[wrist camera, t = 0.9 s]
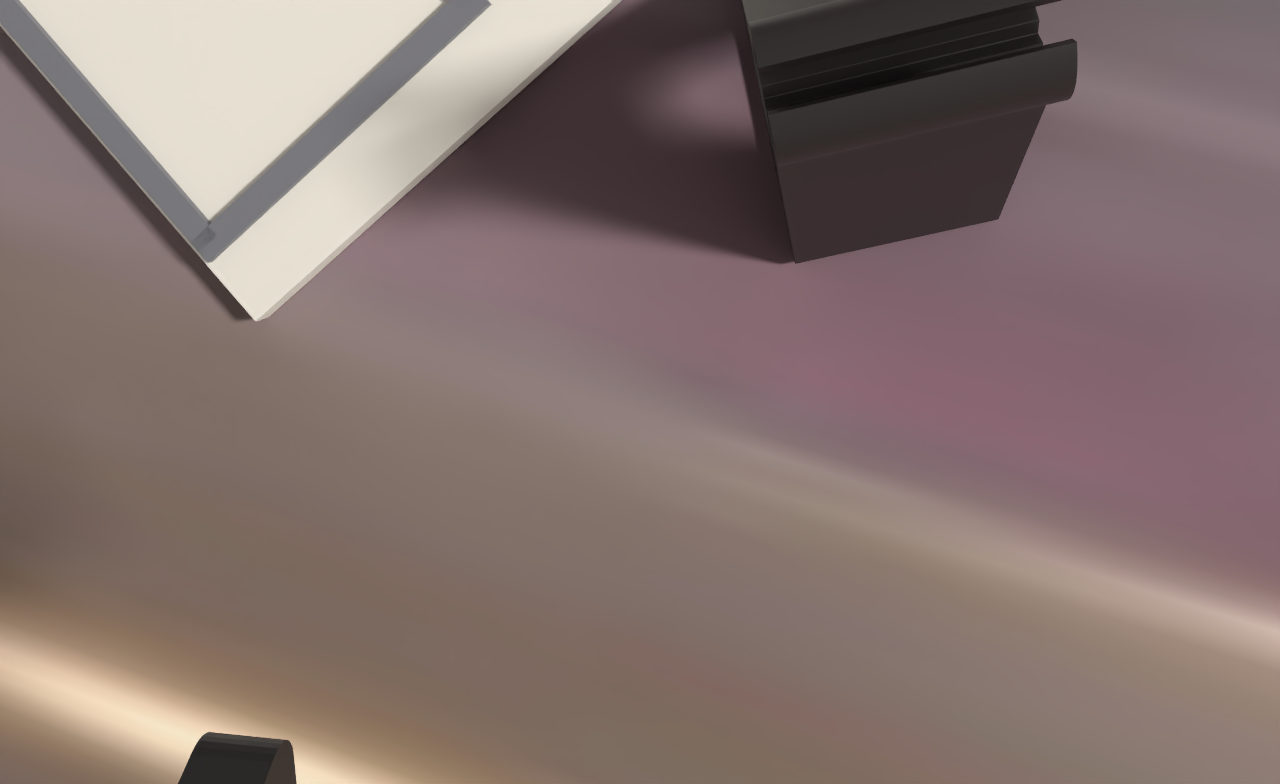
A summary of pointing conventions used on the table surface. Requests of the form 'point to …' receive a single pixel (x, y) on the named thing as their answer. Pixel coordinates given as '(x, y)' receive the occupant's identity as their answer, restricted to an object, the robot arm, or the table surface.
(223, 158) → the white flat board
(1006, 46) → the phone stand
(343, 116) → the marked box
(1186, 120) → the table surface
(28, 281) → the table surface
